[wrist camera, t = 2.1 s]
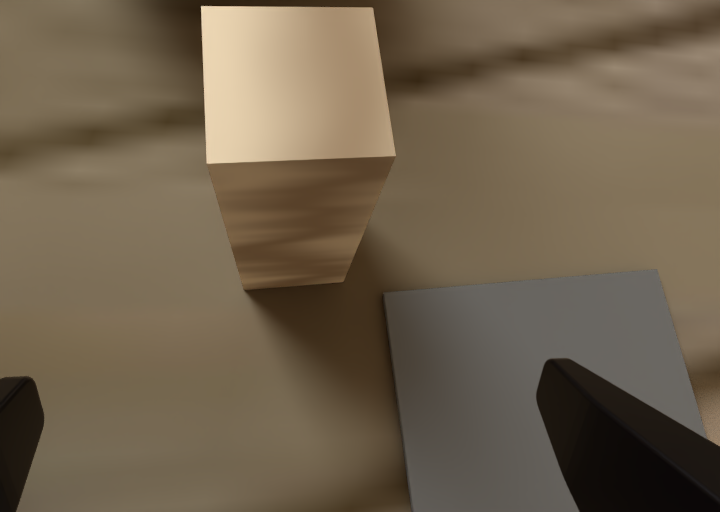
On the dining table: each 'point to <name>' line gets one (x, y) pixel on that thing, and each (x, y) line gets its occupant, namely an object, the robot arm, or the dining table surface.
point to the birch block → (294, 136)
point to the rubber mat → (519, 380)
